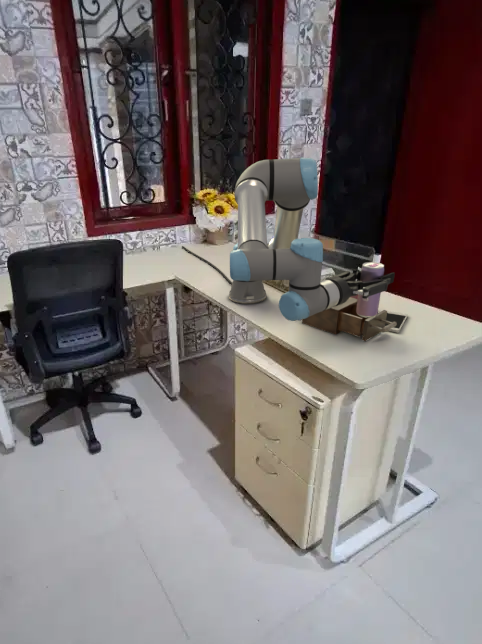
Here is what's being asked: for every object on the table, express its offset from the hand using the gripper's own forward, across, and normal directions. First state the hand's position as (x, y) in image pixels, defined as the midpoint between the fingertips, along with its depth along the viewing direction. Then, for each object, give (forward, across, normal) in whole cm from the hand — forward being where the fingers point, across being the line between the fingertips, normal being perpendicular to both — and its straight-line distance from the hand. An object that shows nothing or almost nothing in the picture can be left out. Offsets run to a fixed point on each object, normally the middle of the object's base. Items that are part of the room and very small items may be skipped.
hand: (382, 274), depth 120 cm
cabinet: (+3, -19, -23) cm, 30 cm away
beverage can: (-5, 0, -11) cm, 12 cm away
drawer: (+4, -6, -22) cm, 23 cm away
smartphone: (+19, -5, -23) cm, 30 cm away
